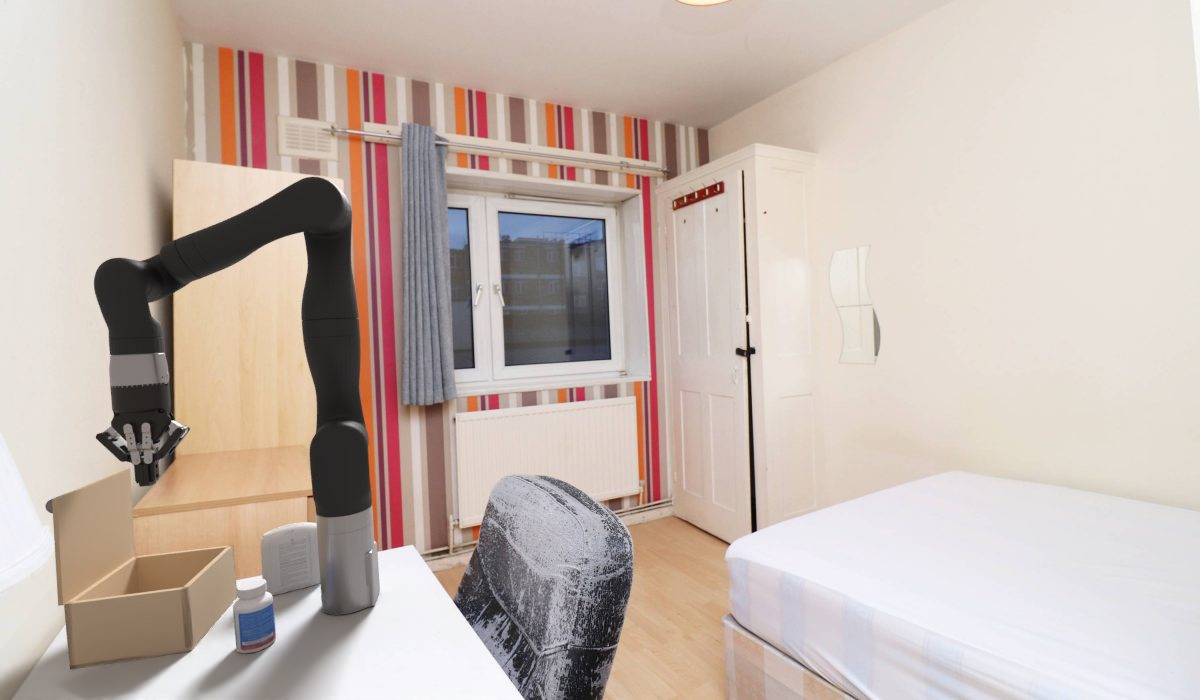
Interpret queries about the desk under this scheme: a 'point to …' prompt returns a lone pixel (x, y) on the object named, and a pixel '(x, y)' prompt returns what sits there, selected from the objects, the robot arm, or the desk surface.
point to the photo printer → (290, 557)
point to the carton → (150, 606)
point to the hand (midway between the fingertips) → (148, 484)
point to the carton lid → (92, 533)
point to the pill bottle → (254, 617)
